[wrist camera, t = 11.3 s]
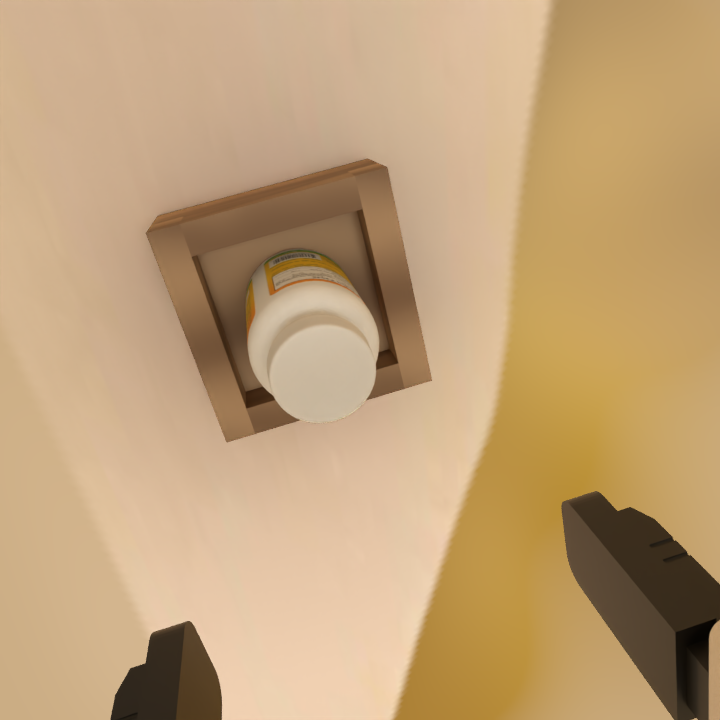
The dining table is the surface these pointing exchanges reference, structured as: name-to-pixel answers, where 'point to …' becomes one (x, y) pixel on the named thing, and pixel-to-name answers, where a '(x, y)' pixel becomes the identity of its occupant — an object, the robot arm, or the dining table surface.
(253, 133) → the dining table surface
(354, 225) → the wooden open box
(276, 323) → the supplement bottle
